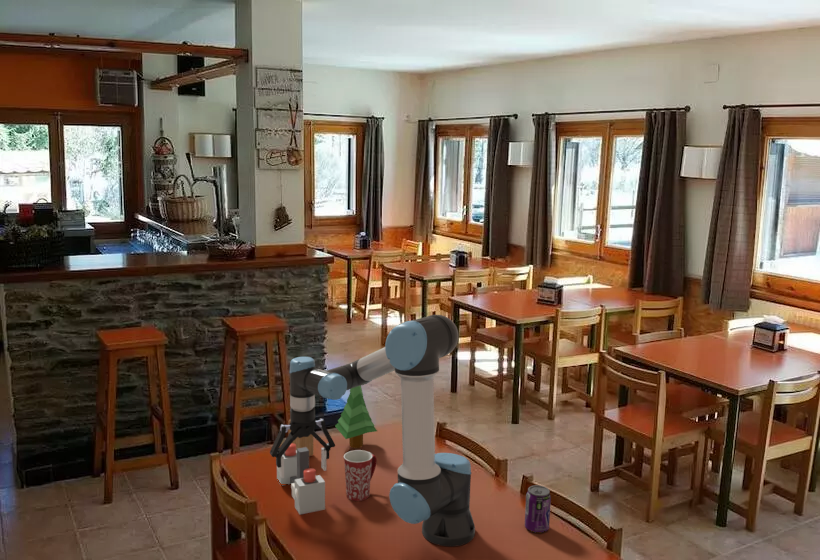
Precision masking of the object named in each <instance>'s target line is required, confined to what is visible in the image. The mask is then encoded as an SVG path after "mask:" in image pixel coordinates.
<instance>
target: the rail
mask: <svg viewBox="0 0 820 560" xmlns="http://www.w3.org/2000/svg"><path fill="white" fill-rule="evenodd" d="M295 479H297V477H296V476H292V477H290V484H292V483H295ZM290 484H289V485H290Z"/></svg>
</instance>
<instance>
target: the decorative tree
mask: <svg viewBox="0 0 820 560" xmlns="http://www.w3.org/2000/svg"><path fill="white" fill-rule="evenodd" d="M337 422H338V423H336V424H335V425H334V426H335V429H337V430H338V432H339V433H340V434H341V435H342V436H343V438H344V439H345V440H348V439H349V447H350V448H351V449H360V448H362V447H363V446H364V434H367V433H375V432H378V430H377V428H376V427H375V424H374V422H373V420H372V418H371V416H370V413H369V410H368V408H367V405H366V402H365V398H364V394H363V388H362V385H361V386H358V387H355V388H352V389H349V394H348V397H347V399H346V403H345V405H344V407H343V410H342V412H341V413H340V418H339V419H337Z"/></svg>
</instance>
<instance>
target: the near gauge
mask: <svg viewBox="0 0 820 560" xmlns="http://www.w3.org/2000/svg"><path fill="white" fill-rule="evenodd" d="M316 471H317V470H316V469H315V468H313V467H312V468H311V467H309V468H307V469H305V470H304V482H307V483H312V482H314V481H316V476H317V475H316V474H317V473H316Z"/></svg>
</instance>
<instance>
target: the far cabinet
mask: <svg viewBox="0 0 820 560" xmlns="http://www.w3.org/2000/svg"><path fill="white" fill-rule="evenodd" d="M282 456H283V457H284V478H281V476H280V475H279V468H278V467H277V466H276V480H277V479H278V480H279V482H280V483H281V484H288V485H290V477H292V476H296V477H297V450H296V455H295V456H286V455H285V453H284V454H283V455H282ZM278 480H277V481H278ZM279 482H278V483H279ZM280 483H279V484H280Z"/></svg>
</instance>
